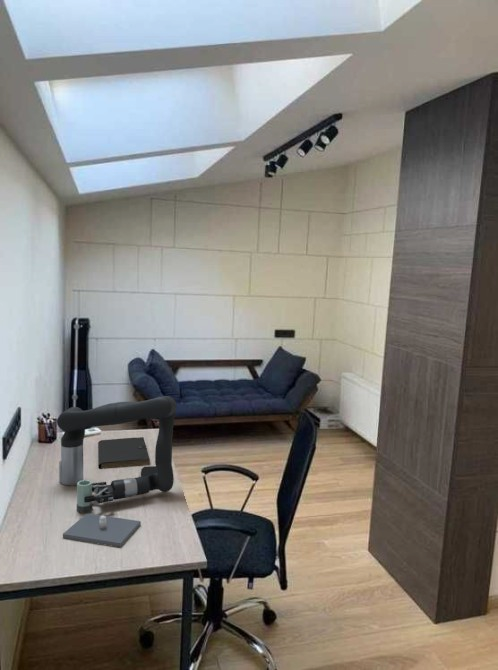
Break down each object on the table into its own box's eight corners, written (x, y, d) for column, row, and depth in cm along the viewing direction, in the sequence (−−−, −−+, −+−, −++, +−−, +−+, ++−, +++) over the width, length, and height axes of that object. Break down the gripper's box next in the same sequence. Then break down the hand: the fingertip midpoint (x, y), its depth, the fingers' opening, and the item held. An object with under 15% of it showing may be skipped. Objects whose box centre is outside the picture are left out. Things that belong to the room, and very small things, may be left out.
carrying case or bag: (139, 471, 237) (138, 484, 223) (139, 465, 237) (138, 478, 222) (162, 470, 239) (162, 483, 225) (162, 464, 239) (162, 477, 224)
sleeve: (74, 511, 195) (74, 484, 194) (82, 505, 200) (81, 479, 199) (87, 513, 194) (87, 486, 193) (94, 507, 199) (94, 481, 198)
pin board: (62, 537, 176) (62, 522, 175) (87, 516, 191) (87, 502, 191) (120, 547, 171) (120, 531, 171) (140, 525, 187) (140, 509, 186)
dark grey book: (150, 457, 244) (98, 462, 237) (150, 466, 245) (98, 470, 238) (143, 436, 276) (97, 439, 269) (143, 443, 276) (98, 447, 269)
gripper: (120, 473, 209) (79, 479, 202) (128, 486, 197) (85, 493, 189) (119, 490, 210) (79, 497, 203) (128, 504, 198) (85, 512, 190)
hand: (82, 495), depth 196 cm, fingers open, 8 cm apart
